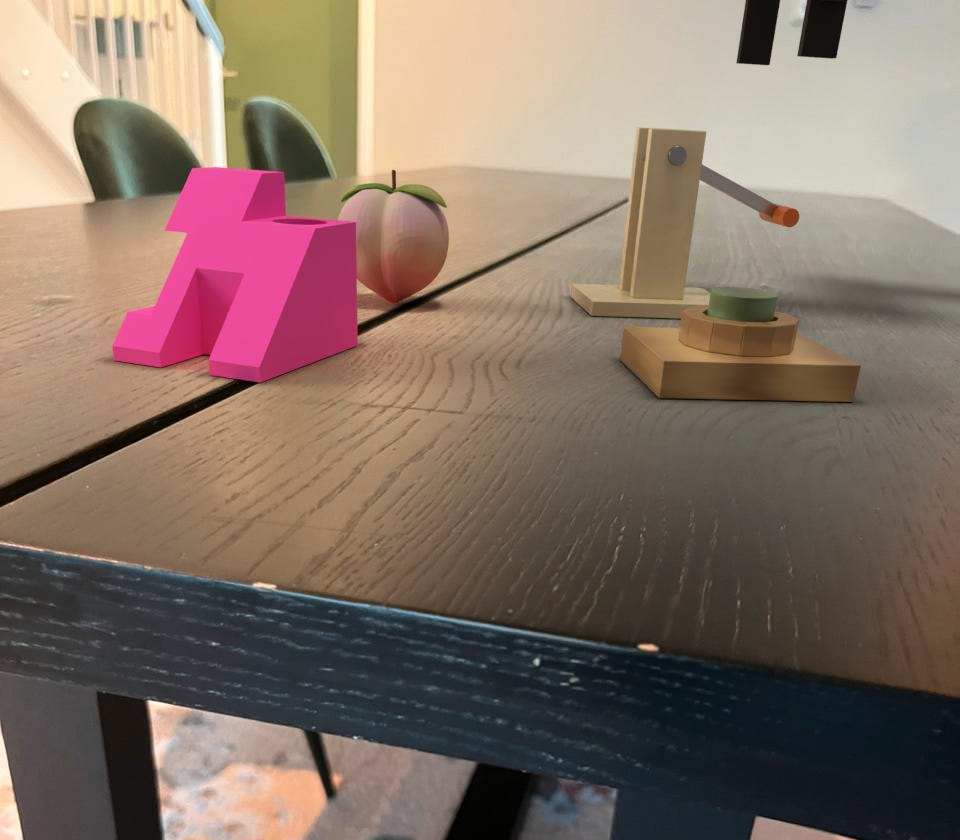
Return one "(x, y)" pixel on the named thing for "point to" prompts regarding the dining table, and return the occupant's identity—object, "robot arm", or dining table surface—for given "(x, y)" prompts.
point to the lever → (750, 199)
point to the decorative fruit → (397, 236)
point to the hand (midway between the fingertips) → (782, 61)
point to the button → (742, 304)
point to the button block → (737, 360)
